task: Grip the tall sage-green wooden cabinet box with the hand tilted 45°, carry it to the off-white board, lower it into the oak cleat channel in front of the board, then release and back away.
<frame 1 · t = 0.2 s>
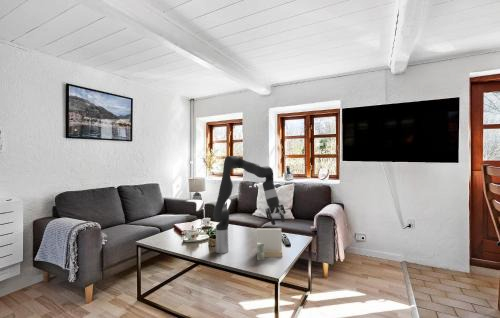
hand: (278, 223, 153), 31 cm above the table, tool tilted 20°, fingers open, 8 cm apart
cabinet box: (260, 259, 175), on the table
wall board: (269, 254, 183), on the table
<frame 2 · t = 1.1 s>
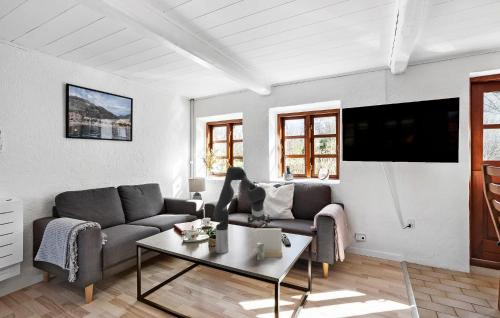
hand: (259, 225, 164), 27 cm above the table, tool tilted 45°, fingers open, 8 cm apart
nothing on the table moved.
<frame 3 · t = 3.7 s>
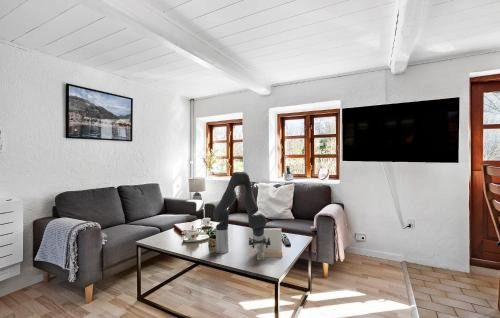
hand: (260, 246, 171), 10 cm above the table, tool tilted 45°, fingers open, 8 cm apart
nothing on the table moved.
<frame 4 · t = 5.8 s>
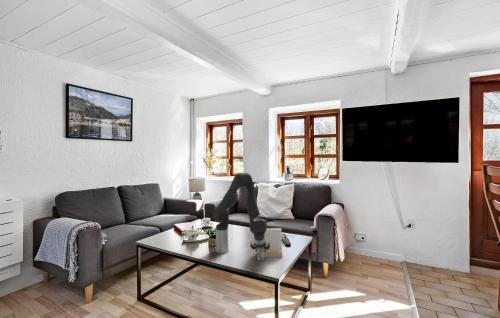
hand: (260, 250, 177), 5 cm above the table, tool tilted 45°, fingers closed on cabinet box, 5 cm apart
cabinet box: (260, 259, 175), on the table, touching gripper
everything else where it was.
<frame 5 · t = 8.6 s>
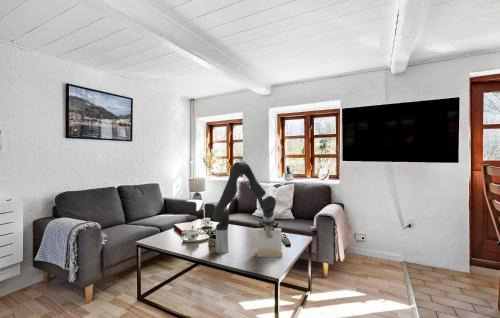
hand: (269, 229, 185), 18 cm above the table, tool tilted 45°, fingers closed on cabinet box, 5 cm apart
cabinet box: (269, 237, 183), point 13 cm above the table, touching gripper
everything else where it was.
when the fingers open (7 cm above the table, at t = 11.6 s): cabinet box drops 1 cm, on the table.
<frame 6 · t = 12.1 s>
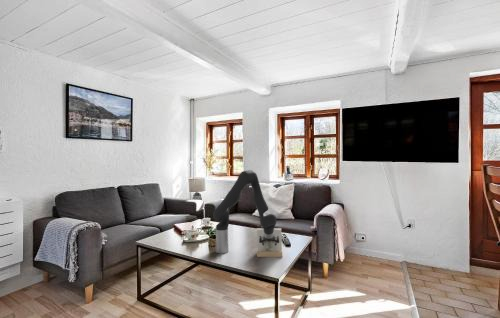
hand: (269, 244, 184), 7 cm above the table, tool tilted 45°, fingers open, 8 cm apart
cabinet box: (269, 254, 183), on the table
everything else where it was.
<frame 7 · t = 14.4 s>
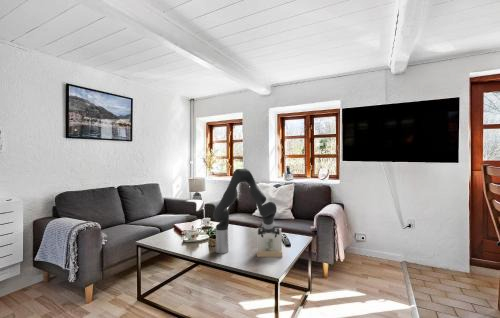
hand: (269, 236, 172), 17 cm above the table, tool tilted 45°, fingers open, 8 cm apart
nothing on the table moved.
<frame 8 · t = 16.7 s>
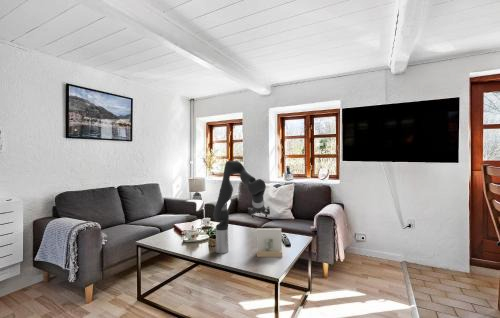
hand: (259, 216, 171), 31 cm above the table, tool tilted 45°, fingers open, 8 cm apart
nothing on the table moved.
at the end: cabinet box 0.2 cm off-centre on the wall board, point 0.0 cm above the wall board's base; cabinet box tilted 0°; the gripper is holding nothing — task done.
